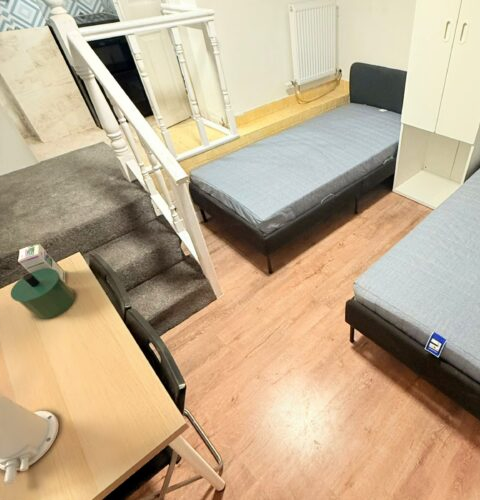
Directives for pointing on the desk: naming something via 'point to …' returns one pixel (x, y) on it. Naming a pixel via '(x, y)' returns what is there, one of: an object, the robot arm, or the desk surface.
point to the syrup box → (38, 260)
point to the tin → (51, 302)
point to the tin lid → (35, 285)
